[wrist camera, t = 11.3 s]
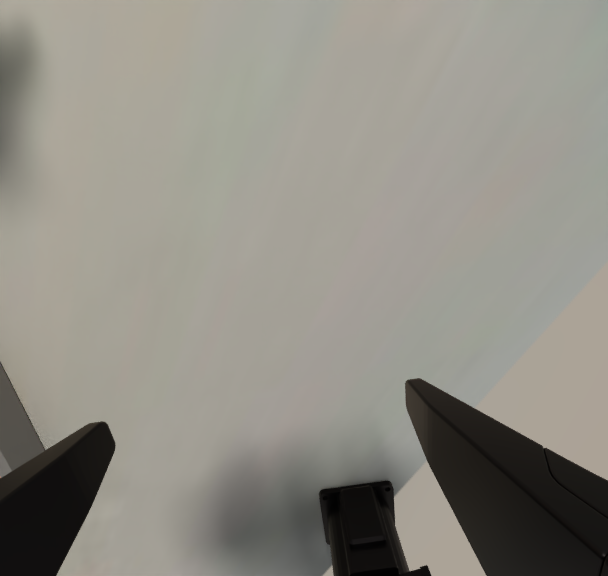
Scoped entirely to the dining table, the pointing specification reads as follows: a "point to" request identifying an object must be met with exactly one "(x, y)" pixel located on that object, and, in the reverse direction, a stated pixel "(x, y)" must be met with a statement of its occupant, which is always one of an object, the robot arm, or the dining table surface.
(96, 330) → the dining table surface
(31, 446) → the organizer
